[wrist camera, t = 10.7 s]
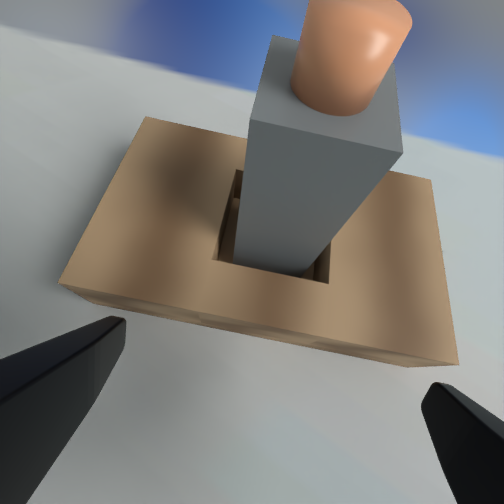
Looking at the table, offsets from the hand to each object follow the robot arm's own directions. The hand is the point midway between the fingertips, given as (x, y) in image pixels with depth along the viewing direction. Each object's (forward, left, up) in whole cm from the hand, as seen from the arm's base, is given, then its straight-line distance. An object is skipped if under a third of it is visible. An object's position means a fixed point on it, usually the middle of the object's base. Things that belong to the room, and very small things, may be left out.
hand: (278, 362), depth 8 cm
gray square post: (-1, +8, -8) cm, 11 cm away
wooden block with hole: (-1, +8, -9) cm, 12 cm away
